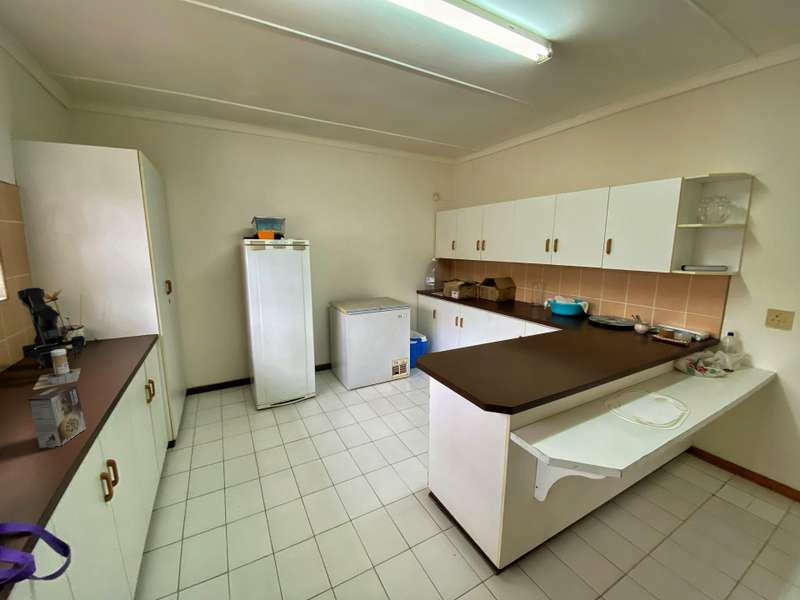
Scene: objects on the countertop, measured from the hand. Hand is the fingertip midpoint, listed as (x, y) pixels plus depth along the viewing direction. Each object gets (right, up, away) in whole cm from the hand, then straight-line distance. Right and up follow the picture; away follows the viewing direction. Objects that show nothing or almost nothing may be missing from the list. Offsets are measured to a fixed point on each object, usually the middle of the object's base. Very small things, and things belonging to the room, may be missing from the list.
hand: (60, 362), depth 140 cm
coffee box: (+40, -17, -37) cm, 57 cm away
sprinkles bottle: (-1, -8, +3) cm, 9 cm away
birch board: (-5, -9, +4) cm, 11 cm away
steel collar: (-1, -8, +2) cm, 9 cm away
